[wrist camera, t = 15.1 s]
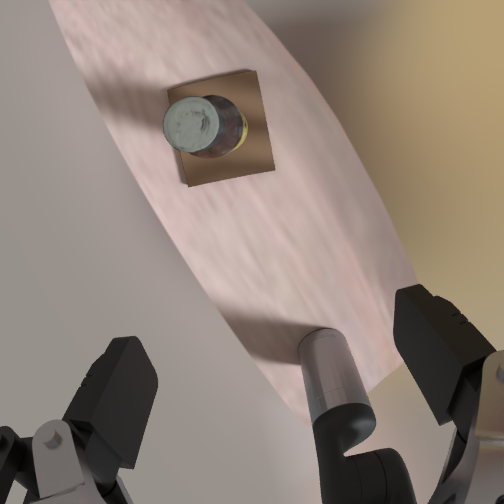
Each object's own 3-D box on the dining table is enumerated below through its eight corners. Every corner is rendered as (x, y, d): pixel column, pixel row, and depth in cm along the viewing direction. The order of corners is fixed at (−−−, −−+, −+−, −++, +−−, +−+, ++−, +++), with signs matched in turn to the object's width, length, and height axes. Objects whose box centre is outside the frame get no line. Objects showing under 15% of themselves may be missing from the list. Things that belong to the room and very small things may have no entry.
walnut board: (274, 169, 40) (275, 170, 39) (190, 185, 41) (188, 187, 40) (255, 72, 35) (256, 70, 33) (169, 91, 35) (167, 90, 34)
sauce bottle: (257, 124, 36) (265, 118, 18) (228, 161, 38) (209, 191, 20) (217, 96, 35) (186, 65, 17) (189, 133, 37) (134, 139, 18)
